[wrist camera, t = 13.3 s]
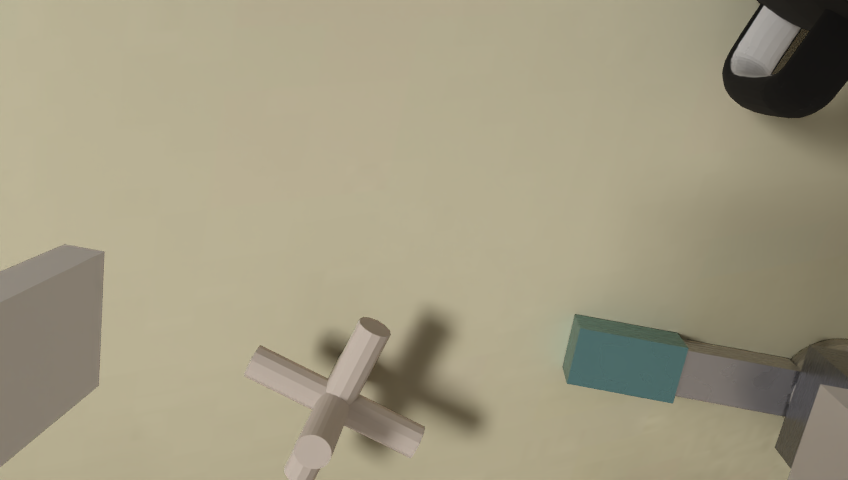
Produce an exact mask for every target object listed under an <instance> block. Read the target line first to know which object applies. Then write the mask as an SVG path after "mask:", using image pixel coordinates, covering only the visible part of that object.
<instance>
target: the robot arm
mask: <svg viewBox="0 0 848 480" xmlns="http://www.w3.org/2000/svg"><path fill="white" fill-rule="evenodd" d="M103 274H104V251H98V250H93V249H88V248H82V247H77V246H71V245H66V244H64V245H62V246H59V247H57V248H55V249H52V250H50V251H48V252H45V253H43V254H40V255H38V256H36V257H33V258H31V259H29V260H26V261H24V262H22V263H19V264H17V265H15V266H12V267H10V268H7V269H5V270H3V271H0V467H1V466H2V465H3V464H5V463H6V462H7V461H8V460H9V459H11V458H12V457H13V456H14V455H15V454H17V453H18V452H19V451H20V450H22V449H23V448H24V447H25V446H26V445H28V444H29V443H30V442H31V441H32V440H34V439H35V438H36V437H37V436H38V435H40V434H41V433H42V432H43V431H44V430H46V429H47V428H48V427H49V426H51V425H52V424H53V423H54V422H55V421H57V420H58V419H59V418H60V417H61V416H63V415H64V414H65V413H66V412H67V411H69V410H70V409H71V408H72V407H73V406H75V405H76V404H77V403H78V402H80V401H81V400H82V399H83V398H84V397H86V396H87V395H88V394H89V393H90V392H92V391H93V390H94V389H95V388H96V387H98V386H99V369H100V346H101V322H102V298H103ZM787 480H848V389H844V388H839V387H833V386H828V385H822V384H820V387H819V390H818V393H817V396H816V398H815V401H814V404H813V407H812V410H811V413H810V416H809V419H808V421H807V424H806V427H805V430H804V433H803V436H802V439H801V442H800V445H799V447H798V450H797V453H796V456H795V459H794V462H793V465H792V468H791V471H790V473H789V476H788V479H787Z"/></svg>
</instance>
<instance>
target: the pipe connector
mask: <svg viewBox="0 0 848 480" xmlns="http://www.w3.org/2000/svg"><path fill="white" fill-rule="evenodd" d="M390 335H391V334H390V330H389V329H388V328H387V327H386V326H385V325H384V324H382V323H381V322H379V321H377V320H375V319H372V318H368V317H362V318H361V319H359V321H358V323H357V325H356V327H355V329H354V331H353V333H352V335H351V337H350V339H349V341H348V343H347V345H346V347H345V349H344V351H343V352H342V353H341V355H340V356H339V358H338V360H337V362H336V364H335V366H334V368H333V370H332V372H331V374H330V376H329V378H326V377H324V376H321V375H319V374H317V373H315V372H313V371H311V370H309V369H307V368H305V367H303V366H301V365H299V364H297V363H295V362H293V361H291V360H289V359H287V358H285V357H283V356H281V355H279V354H277V353H275V352H273V351H271V350H269V349H267V348H265V347H263V346H261V345H260V346H259V347H258V349H257V350H256V352H255V353H254V355H253V357H252V358H251V360H250V362H249V364H248V366H247V368H246V371H245V373H244V376H245V377H247V378H249V379H251V380H253V381H255V382H257V383H259V384H261V385H263V386H265V387H267V388H269V389H271V390H273V391H275V392H278V393H280V394H282V395H284V396H286V397H288V398H290V399H292V400H294V401H296V402H298V403H300V404H302V405H304V406H306V407H308V408H310V409H312V412H311V414H310V416H309V418H308V419H307V421H306V423H305V425H304V427H303V429H302V431H301V433H300V435H299V437H298V439H297V441H296V443H295V446H294V449H293V451H292V453H291V455H290V457H289V459H288V461H287V463H286V465H285V467H284V473H285V474H286V476H287V478H288V479H289V480H314V479H315V477H316V475H317V473H318V472H319V470H320V468H322V467H324V466H326V465H327V464H328V463H329V461H330V459H331V457H332V454H333V452H334V449H335V446H336V444H337V441H338V439H339V436H340V434H341V431H342V429H343V426H346V427H348V428H350V429H352V430H354V431H356V432H358V433H360V434H362V435H364V436H367V437H369V438H371V439H373V440H375V441H377V442H379V443H381V444H383V445H385V446H387V447H389V448H391V449H393V450H395V451H397V452H399V453H401V454H403V455H405V456H407V457H409V458H411V457H412V456H413V455H414V453H415V452H416V450H417V448H418V446H419V444H420V442H421V439H422V437H423V434H424V430H425V427H424V426H422V425H420V424H418V423H416V422H414V421H412V420H410V419H408V418H406V417H404V416H402V415H400V414H398V413H396V412H394V411H392V410H390V409H388V408H386V407H384V406H382V405H380V404H378V403H376V402H374V401H372V400H370V399H368V398H366V397H364V396H362V395H360V392H361V390H362V388H363V386H364V384H365V382H366V380H367V379H368V377H369V375H370V373H371V371H372V369H373V367H374V365H375V363H376V361H377V360H378V358H379V356H380V354H381V352H382V350H383V348H384V346H385V344H386V342H387V341H388V339H389V337H390Z"/></svg>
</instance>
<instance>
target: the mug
mask: <svg viewBox="0 0 848 480" xmlns="http://www.w3.org/2000/svg"><path fill="white" fill-rule="evenodd" d="M757 1H758V2H759V3H760V6H759V7H758V9H757V10H756V12H755V13H754V15H753V16H752V18H751V19H750V21H749V22H748V24H747V25H746V27H745V28H744V30H743V31H742V33H741V35H740V36H739V38H738V39H737V41H736V43H735V44H734V46H733V47H732V49H731V51H730V52H729V54H728V56H727V58H726V60H725V63H724V67H723V72H722V74H723V82H724V86H725V89H726V91H727V92H728V94H729V95H730V97H731V98H732V99H733V100H734V101H735V102H737V103H738V104H739V105H741V106H742V107H744V108H746V109H749V110H751V111H753V112H757V113H761V114H765V115H770V116H777V117H785V118H801V117H805V116H808V115H810V114H812V113H815V112H817V111H818V110H820V109H822V108H823V107H825V106H826V105H827V104H828V103H829V102H830V101H831V100H832V99H833V98H834V97H835V95H836V94H837V93H838V92H839V91H840V89H841V88H842V87H843V86H844V84H845V83H846V82H847V81H848V0H757ZM802 28H803V29H806V30H809V33H808V34H807V36H806V37H805V38H804V40H803V41H802V43H801V44H800V45H799V47H798V48H797V50H796V51H795V52H794V54H793V55H792V57H791V58H790V59H789V61H788V62H787V64H786V65H785V66H784V67H783V68H782V69H781V70H780V71H779V72H778V73H776V74H774V75H771V74H772V73H773V71H774V70H775V68H776V67H777V65H778V64H779V62H780V60H781V59H782V57H783V56H784V54H785V53H786V51H787V50H788V48H789V47H790V45H791V44H792V42H793V41H794V39H795V38H796V36H797V35H798V33H799V32H800V30H801V29H802Z"/></svg>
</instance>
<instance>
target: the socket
mask: <svg viewBox="0 0 848 480" xmlns="http://www.w3.org/2000/svg"><path fill="white" fill-rule="evenodd" d="M820 384H822V385H828V386H833V387H839V388H844V389H848V352H847V351H842V350H836V349H831V348H826V347H820V346H815V345H809V348H808V351H807V354H806V357H805V360H804V363H803V366H802V369H801V372H800V374H799V377H798V380H797V383H796V386H795V389H794V392H793V395H792V398H791V401H790V404H789V407H788V410H787V413H786V416H785V419H784V422H783V425H782V428H781V431H780V434H779V437H778V440H777V443H776V446H775V448H776V450H777V451H778V452H779V454H780V455H781V456H782V458H783V459H784V460H785V462H786V463H787V464H788V466H789V467H790V468H792V465H793V462H794V459H795V456H796V453H797V450H798V447H799V445H800V442H801V439H802V436H803V433H804V430H805V427H806V424H807V421H808V419H809V416H810V413H811V410H812V407H813V404H814V401H815V398H816V396H817V393H818V390H819V387H820Z"/></svg>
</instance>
